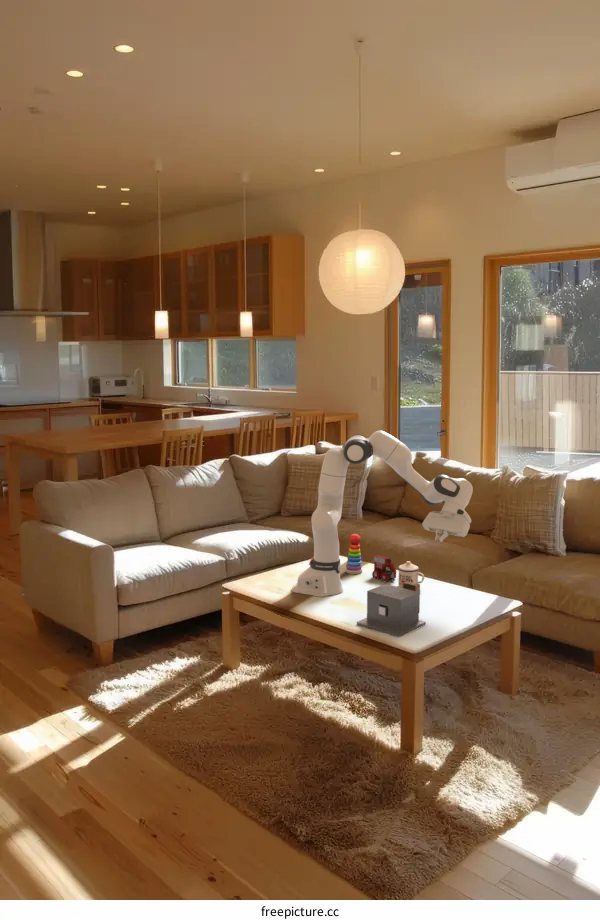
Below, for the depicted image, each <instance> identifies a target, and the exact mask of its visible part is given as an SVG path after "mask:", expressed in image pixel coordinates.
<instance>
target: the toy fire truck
mask: <svg viewBox="0 0 600 920" xmlns="http://www.w3.org/2000/svg"><path fill="white" fill-rule="evenodd" d="M373 563H374V564H373V571H372V573H371V576H372V578H373V579H374V578H375V579H374V580H379V579H380V580H381V581H382V582H384V581H386V582H388V581H389V580H390V578H391V580H394V579H396V578H397V570H396V566H395V564H394V561H393V562H392V558H390V557H386V556H382V555H378V554H377V555H374V556H373Z"/></svg>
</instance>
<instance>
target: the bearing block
mask: <svg viewBox="0 0 600 920" xmlns="http://www.w3.org/2000/svg"><path fill="white" fill-rule="evenodd" d="M366 594H367V595H366V606H367V607H366V617H365V618H362V619H361V620H358V621H356V626H359V627H363V628H366V629H369V630H373V631H376V632H379V633H381V634H386V635H388V636H392V637H396V638H401V637H403V636H404V635H407V634H409V633H411V632H414V631H415V630H418V629H419V627H420V628H421V626H422V627H424V626H426V625H427V621H425V620H422V619H419V615H420V611H419V592H416V591H412V590H408V589H404V588H400V587H399V586H396V585H391V584H387V583H384V584H382V585H380V586H379V585H378V586H376V587H374V588H372V589H369V590H367V591H366ZM381 605H384V606H388V615H386V616H385V615H381V614H379V606H381ZM425 624H426V625H425ZM423 625H424V626H423ZM417 628H418V629H417Z"/></svg>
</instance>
